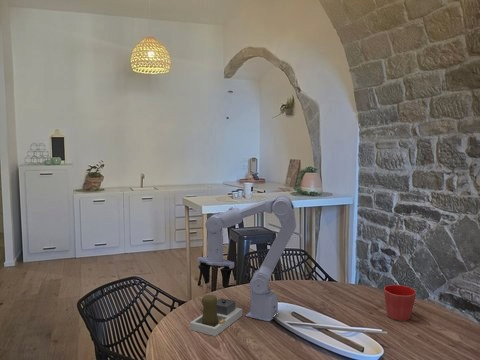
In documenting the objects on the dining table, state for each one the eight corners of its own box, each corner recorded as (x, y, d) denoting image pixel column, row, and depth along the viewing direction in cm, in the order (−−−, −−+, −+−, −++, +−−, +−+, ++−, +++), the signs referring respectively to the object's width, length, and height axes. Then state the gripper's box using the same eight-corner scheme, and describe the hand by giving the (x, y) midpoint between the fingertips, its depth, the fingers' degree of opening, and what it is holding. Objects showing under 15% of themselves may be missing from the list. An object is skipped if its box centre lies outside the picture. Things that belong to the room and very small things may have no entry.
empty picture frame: (242, 315, 148) (242, 298, 148) (215, 336, 133) (215, 317, 132) (219, 310, 153) (218, 293, 152) (190, 329, 137) (189, 311, 137)
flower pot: (419, 315, 146) (420, 289, 146) (408, 325, 139) (408, 298, 138) (390, 307, 154) (391, 282, 153) (377, 316, 146) (378, 290, 145)
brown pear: (215, 332, 135) (215, 300, 134) (198, 330, 137) (197, 298, 136) (221, 324, 141) (220, 293, 140) (204, 322, 143) (203, 292, 142)
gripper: (192, 248, 149) (193, 284, 150) (227, 253, 142) (227, 291, 143) (203, 244, 155) (203, 279, 156) (236, 248, 148) (237, 285, 150)
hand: (215, 284), depth 150 cm, fingers open, 7 cm apart
